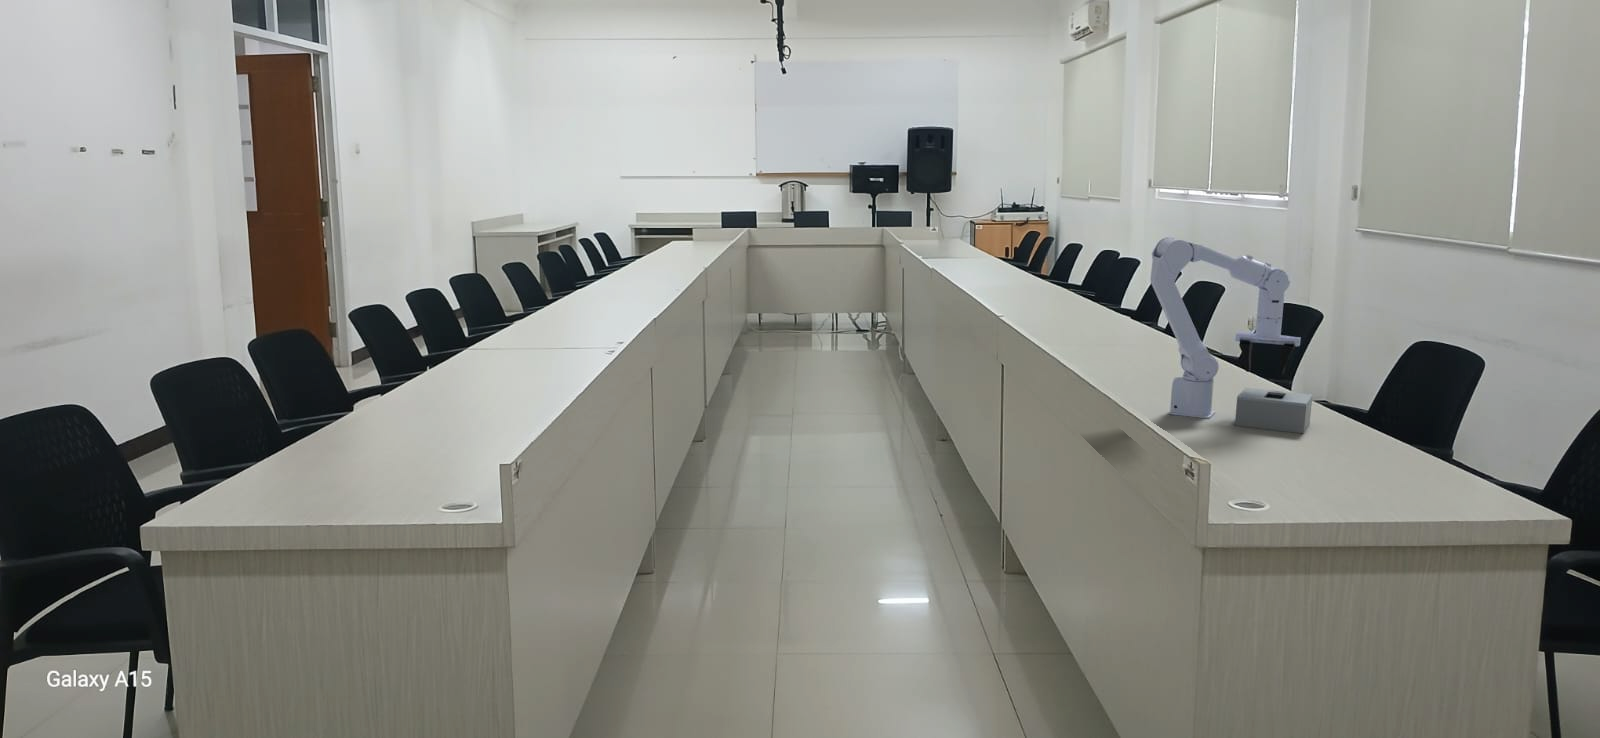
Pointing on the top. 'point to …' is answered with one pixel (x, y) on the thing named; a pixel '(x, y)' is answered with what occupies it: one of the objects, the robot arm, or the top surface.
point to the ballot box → (1273, 410)
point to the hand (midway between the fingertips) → (1264, 372)
